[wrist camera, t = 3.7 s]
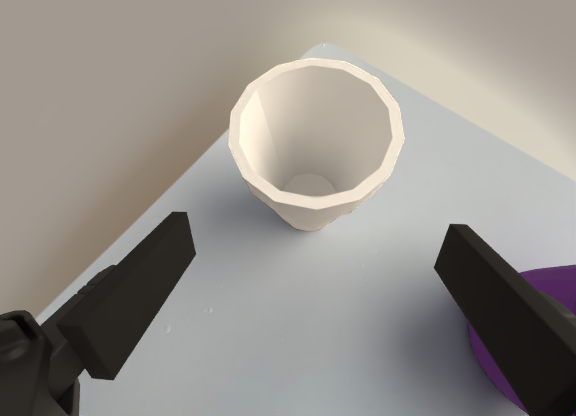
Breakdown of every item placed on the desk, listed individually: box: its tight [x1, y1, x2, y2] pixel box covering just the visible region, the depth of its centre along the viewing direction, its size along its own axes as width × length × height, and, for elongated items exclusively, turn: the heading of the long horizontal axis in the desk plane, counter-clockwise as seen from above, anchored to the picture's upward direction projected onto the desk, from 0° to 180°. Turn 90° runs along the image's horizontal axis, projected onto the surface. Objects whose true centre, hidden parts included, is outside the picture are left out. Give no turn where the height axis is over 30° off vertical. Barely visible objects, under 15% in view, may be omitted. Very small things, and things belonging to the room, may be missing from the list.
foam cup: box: [228, 57, 405, 231], centre depth 19 cm, size 10×9×13 cm
